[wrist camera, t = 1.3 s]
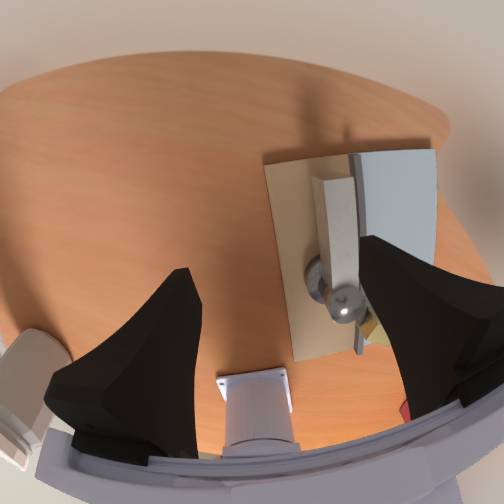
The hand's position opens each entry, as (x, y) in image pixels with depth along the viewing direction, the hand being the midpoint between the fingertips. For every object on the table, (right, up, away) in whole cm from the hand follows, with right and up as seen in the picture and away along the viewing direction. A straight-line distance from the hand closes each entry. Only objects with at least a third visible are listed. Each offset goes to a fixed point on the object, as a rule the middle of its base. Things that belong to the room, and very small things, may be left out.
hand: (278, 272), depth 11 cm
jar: (-29, -13, +17) cm, 36 cm away
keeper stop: (+11, -6, +15) cm, 20 cm away
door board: (+9, 0, +13) cm, 16 cm away
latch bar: (+5, +2, +9) cm, 10 cm away
